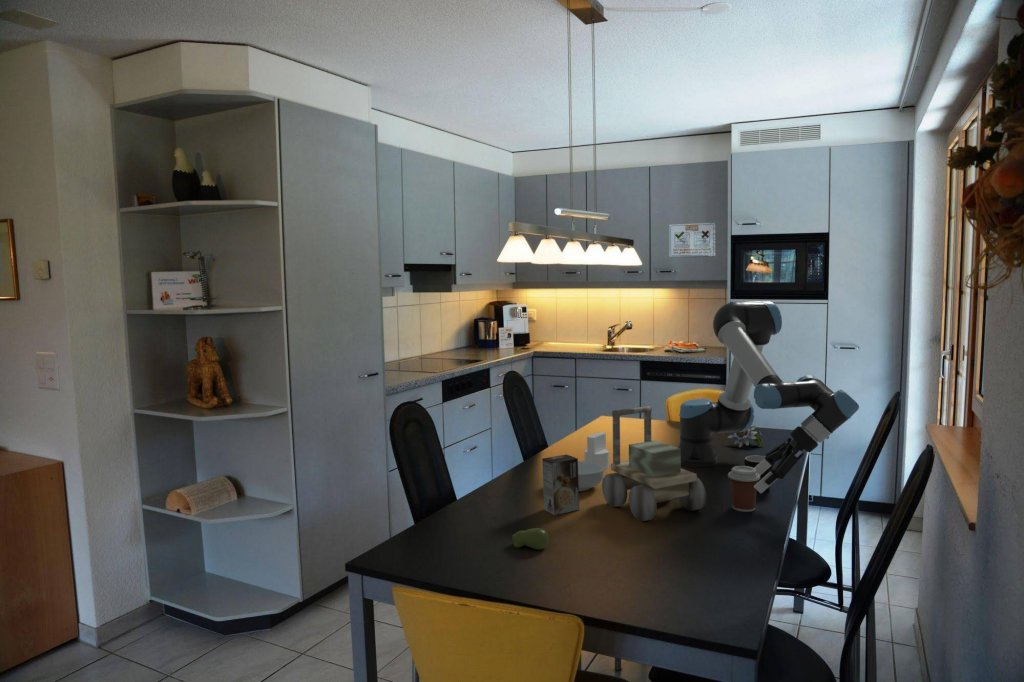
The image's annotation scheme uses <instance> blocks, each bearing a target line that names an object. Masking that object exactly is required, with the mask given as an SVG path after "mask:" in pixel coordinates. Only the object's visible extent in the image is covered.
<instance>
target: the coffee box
mask: <svg viewBox="0 0 1024 682" xmlns="http://www.w3.org/2000/svg"><path fill="white" fill-rule="evenodd" d="M541 459H542V462H541V463H542V484H543V485H542V486H543V487H542V490H543V491H542V492H543V510H544V511H545V512H548V513H550V514H551V515H553V516H557V515H562V514H566V513H570V512H576V511H579V510H580V494H579V493H580V491H579V483H578V461H579V460H578V459H579V458H578V457H575V456H572V455H569V454H562V455H561V454H560V455H554V456H549V457H545V458H544V457H543V458H541Z"/></svg>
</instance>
